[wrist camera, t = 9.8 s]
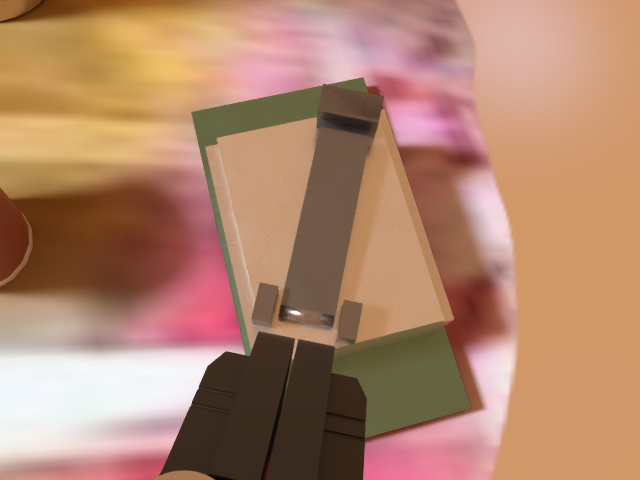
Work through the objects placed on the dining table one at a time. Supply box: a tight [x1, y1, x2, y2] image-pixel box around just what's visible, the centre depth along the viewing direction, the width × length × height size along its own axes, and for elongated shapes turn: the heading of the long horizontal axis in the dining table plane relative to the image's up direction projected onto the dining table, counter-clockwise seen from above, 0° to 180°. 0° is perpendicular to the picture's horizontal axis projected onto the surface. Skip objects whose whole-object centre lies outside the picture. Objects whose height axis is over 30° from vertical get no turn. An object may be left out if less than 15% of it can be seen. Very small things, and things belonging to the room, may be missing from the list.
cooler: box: [192, 78, 471, 438], centre depth 37 cm, size 24×13×8 cm, turn 15°
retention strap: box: [278, 126, 370, 329], centre depth 34 cm, size 11×3×1 cm, turn 169°
